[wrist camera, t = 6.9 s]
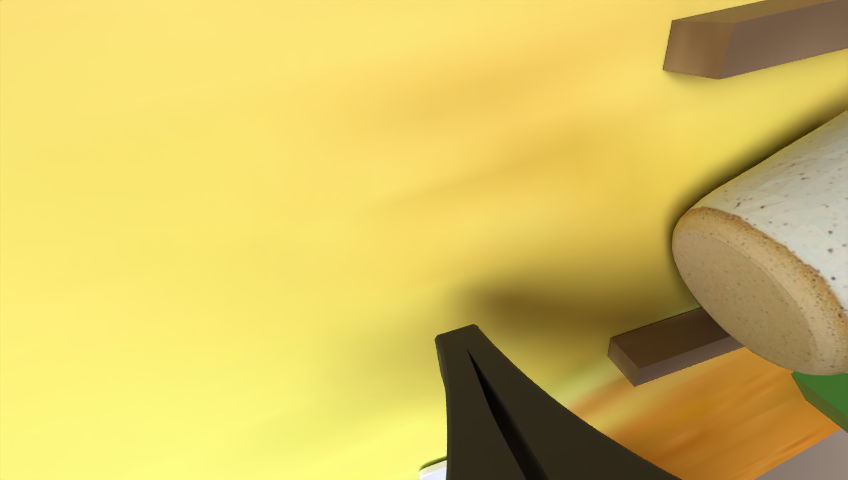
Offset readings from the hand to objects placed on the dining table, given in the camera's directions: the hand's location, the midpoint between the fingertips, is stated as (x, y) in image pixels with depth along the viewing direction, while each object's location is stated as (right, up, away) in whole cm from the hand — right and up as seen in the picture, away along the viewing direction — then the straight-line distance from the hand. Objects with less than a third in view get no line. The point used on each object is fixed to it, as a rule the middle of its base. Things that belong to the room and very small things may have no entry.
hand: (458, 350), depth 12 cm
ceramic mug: (+14, +5, +5) cm, 15 cm away
